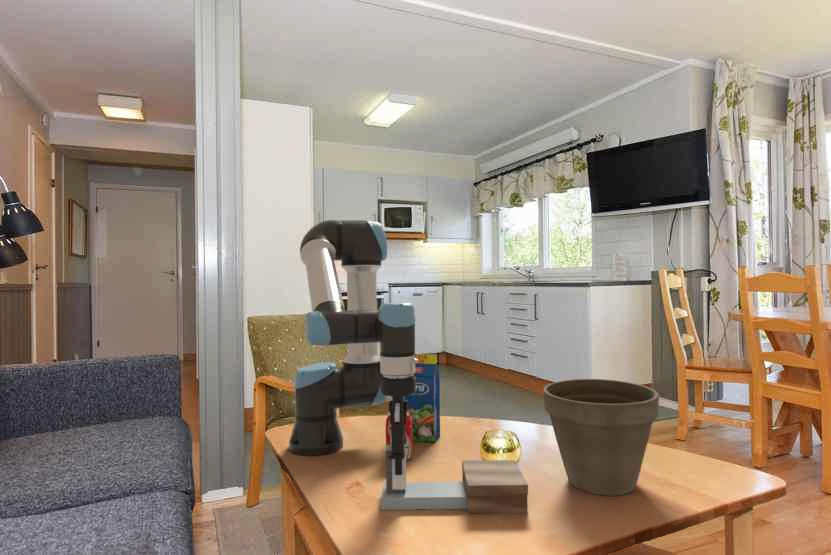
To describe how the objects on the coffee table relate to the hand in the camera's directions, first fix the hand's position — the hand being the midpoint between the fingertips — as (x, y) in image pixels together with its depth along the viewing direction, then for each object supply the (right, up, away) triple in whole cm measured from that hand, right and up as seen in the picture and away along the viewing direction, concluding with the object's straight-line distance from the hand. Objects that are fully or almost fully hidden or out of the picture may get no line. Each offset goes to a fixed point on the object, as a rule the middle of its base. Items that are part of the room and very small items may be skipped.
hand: (399, 483), depth 110 cm
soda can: (-1, -4, +26) cm, 26 cm away
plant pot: (+46, -3, +8) cm, 47 cm away
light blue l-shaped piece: (+7, -4, 0) cm, 8 cm away
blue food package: (+4, -4, +43) cm, 44 cm away
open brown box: (+20, -3, 0) cm, 20 cm away
